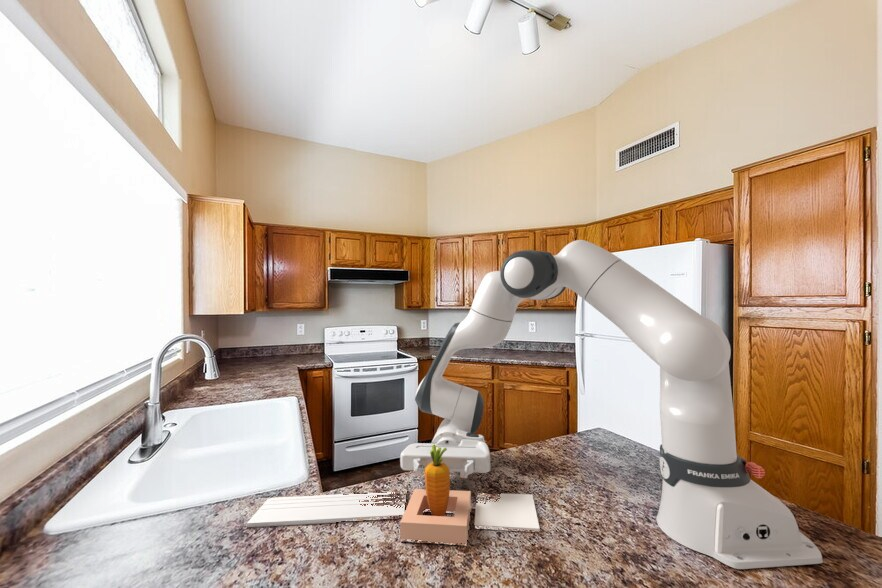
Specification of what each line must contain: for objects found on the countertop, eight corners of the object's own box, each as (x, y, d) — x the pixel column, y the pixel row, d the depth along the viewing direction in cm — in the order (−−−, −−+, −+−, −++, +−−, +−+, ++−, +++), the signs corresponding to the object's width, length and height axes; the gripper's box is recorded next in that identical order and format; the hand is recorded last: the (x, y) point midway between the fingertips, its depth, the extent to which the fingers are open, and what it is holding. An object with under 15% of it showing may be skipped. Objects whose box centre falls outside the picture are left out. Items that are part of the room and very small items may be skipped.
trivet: (532, 498, 77) (532, 494, 77) (539, 533, 65) (539, 528, 65) (477, 496, 78) (477, 492, 78) (474, 529, 66) (474, 524, 66)
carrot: (428, 516, 71) (426, 440, 72) (452, 517, 71) (450, 441, 71) (423, 531, 66) (421, 450, 67) (449, 532, 66) (447, 450, 66)
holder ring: (471, 508, 74) (470, 491, 74) (467, 546, 62) (466, 526, 62) (415, 505, 75) (414, 488, 75) (400, 542, 63) (400, 522, 64)
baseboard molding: (273, 498, 81) (246, 531, 69) (273, 485, 81) (246, 516, 69) (408, 491, 82) (404, 522, 70) (408, 478, 82) (404, 507, 71)
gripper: (407, 433, 88) (391, 456, 74) (489, 435, 85) (489, 459, 71) (408, 459, 88) (392, 487, 74) (491, 462, 85) (490, 491, 71)
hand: (440, 473), depth 73 cm, fingers open, 8 cm apart
